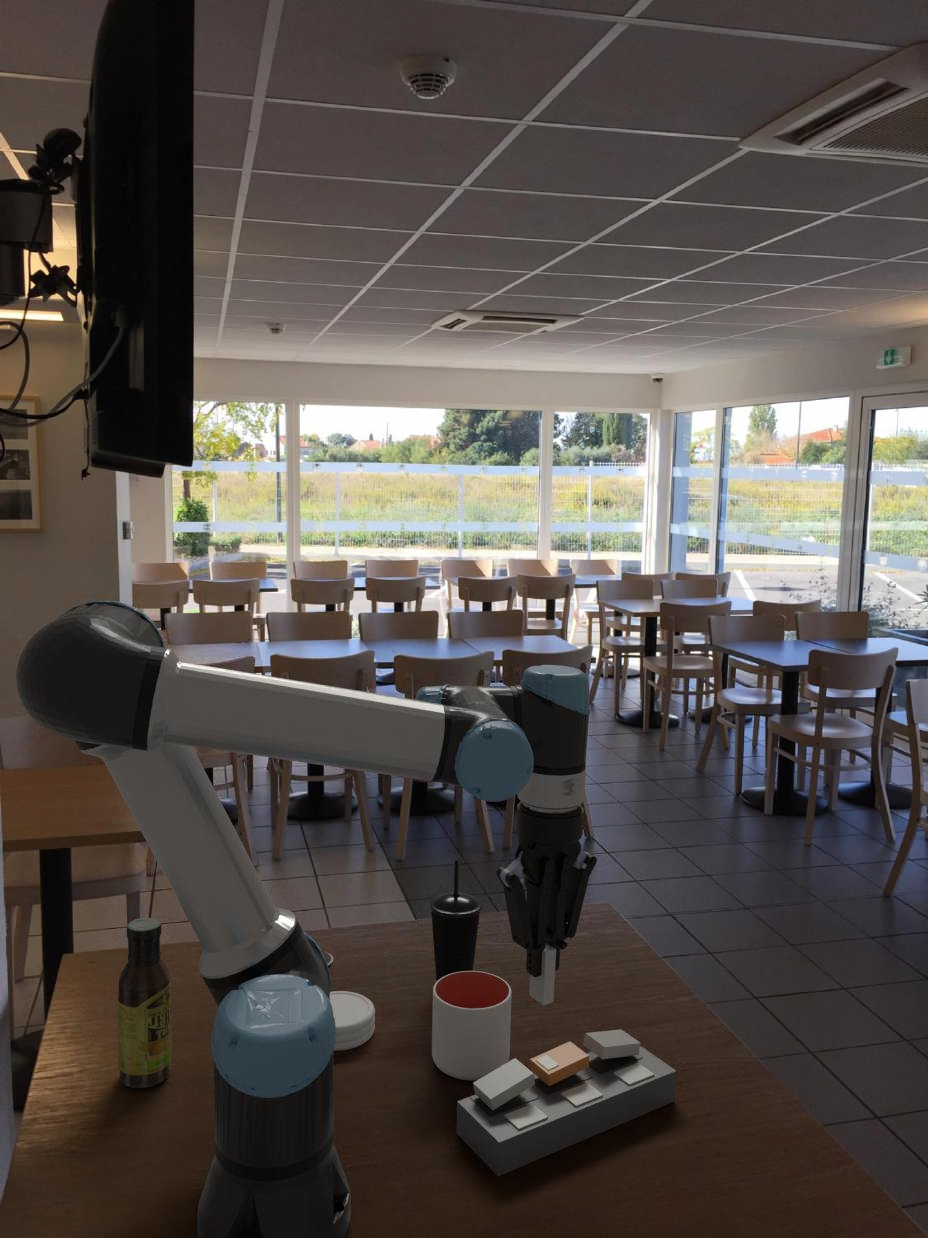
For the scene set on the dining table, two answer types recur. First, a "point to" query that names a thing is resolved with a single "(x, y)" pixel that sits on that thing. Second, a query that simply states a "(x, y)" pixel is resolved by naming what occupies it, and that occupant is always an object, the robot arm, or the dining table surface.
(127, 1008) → the sauce bottle
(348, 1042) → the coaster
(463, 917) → the drinking cup
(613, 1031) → the rocker
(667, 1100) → the switch panel
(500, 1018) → the cup
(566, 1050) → the block
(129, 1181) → the dining table surface
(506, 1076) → the block
